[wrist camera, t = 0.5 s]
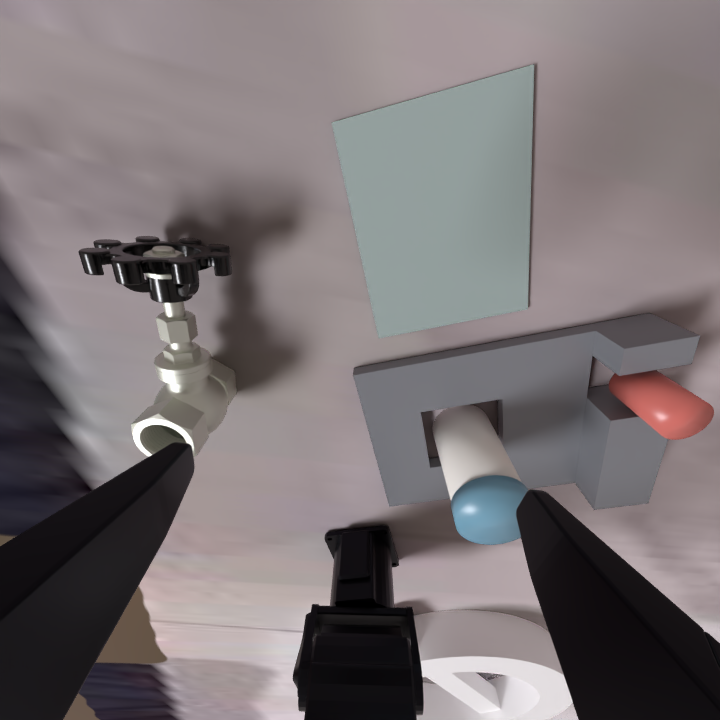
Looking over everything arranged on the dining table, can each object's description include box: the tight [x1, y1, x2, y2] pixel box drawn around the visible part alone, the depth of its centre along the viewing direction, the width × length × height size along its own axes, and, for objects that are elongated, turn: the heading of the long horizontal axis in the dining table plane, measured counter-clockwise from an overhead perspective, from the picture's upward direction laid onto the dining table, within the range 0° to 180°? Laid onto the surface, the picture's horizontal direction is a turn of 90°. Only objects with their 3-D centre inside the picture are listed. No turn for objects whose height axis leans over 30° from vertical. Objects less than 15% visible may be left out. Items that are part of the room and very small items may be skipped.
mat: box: [332, 64, 534, 338], centre depth 18 cm, size 12×10×1 cm
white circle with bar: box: [414, 610, 573, 720], centre depth 44 cm, size 28×28×5 cm
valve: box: [79, 236, 237, 457], centre depth 19 cm, size 7×7×12 cm
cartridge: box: [432, 405, 528, 545], centre depth 22 cm, size 5×5×8 cm
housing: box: [353, 313, 700, 510], centre depth 23 cm, size 14×19×4 cm
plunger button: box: [609, 370, 714, 440], centre depth 19 cm, size 3×3×4 cm
